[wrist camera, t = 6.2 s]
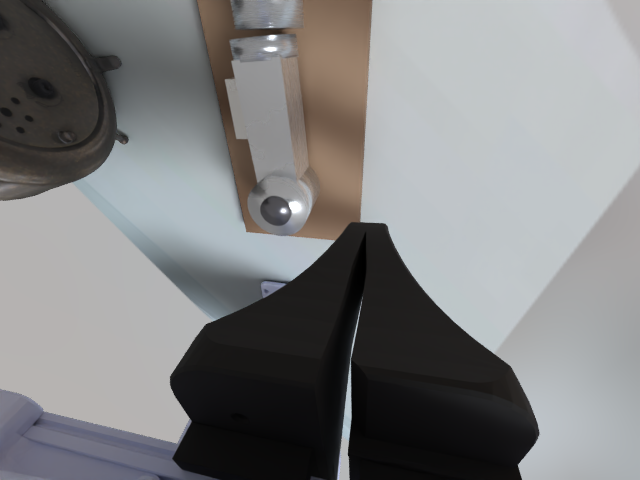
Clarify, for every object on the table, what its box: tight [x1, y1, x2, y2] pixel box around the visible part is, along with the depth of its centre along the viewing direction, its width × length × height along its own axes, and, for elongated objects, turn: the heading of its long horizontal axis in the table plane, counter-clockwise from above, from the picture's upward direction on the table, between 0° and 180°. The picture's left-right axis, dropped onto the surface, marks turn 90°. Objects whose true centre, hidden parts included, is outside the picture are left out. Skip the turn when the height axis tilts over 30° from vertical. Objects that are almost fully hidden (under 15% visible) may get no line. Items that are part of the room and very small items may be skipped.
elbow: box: [229, 34, 320, 236], centre depth 16 cm, size 10×4×4 cm, turn 5°
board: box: [197, 0, 372, 240], centre depth 18 cm, size 17×9×1 cm, turn 2°
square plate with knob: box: [225, 0, 304, 139], centre depth 13 cm, size 9×6×5 cm, turn 2°
